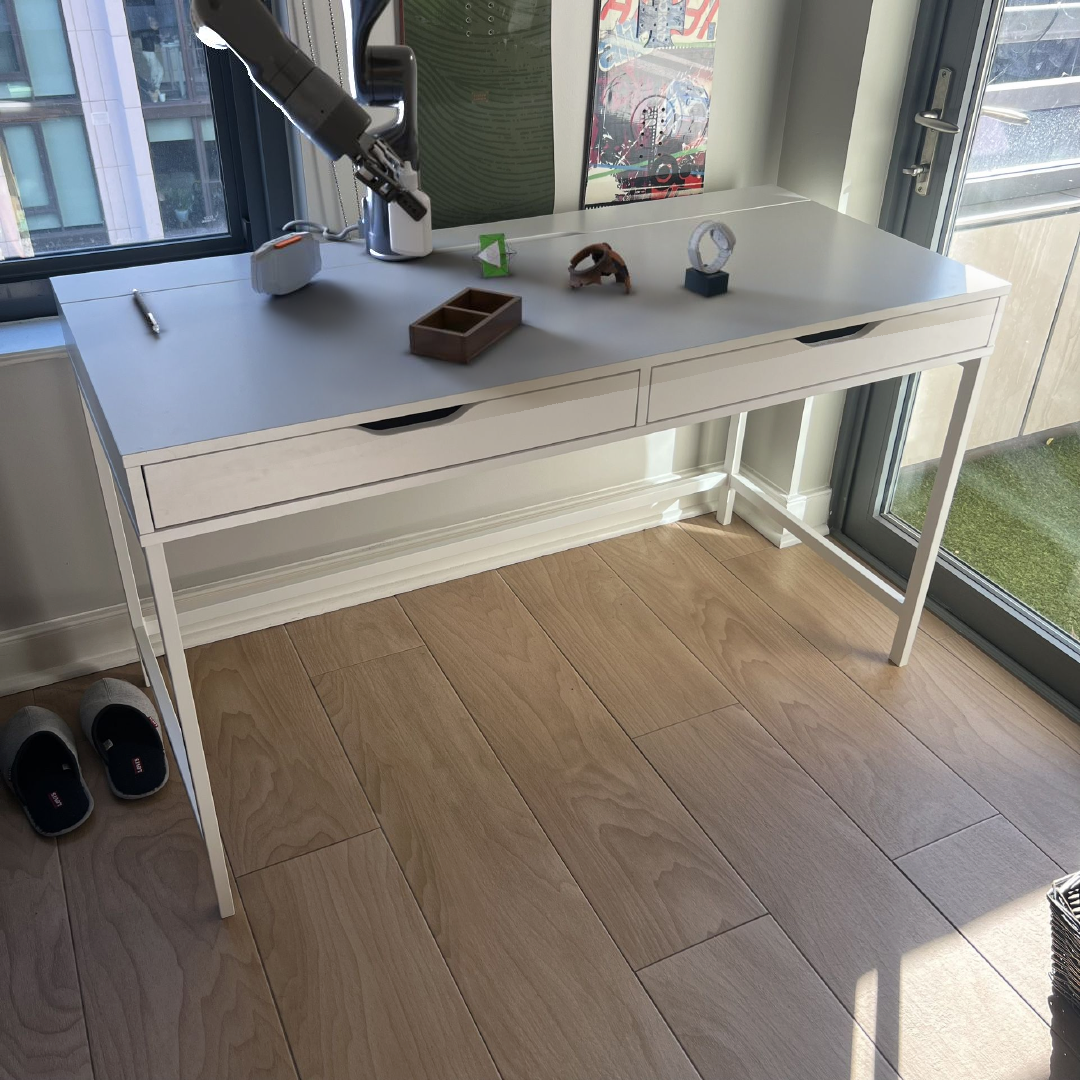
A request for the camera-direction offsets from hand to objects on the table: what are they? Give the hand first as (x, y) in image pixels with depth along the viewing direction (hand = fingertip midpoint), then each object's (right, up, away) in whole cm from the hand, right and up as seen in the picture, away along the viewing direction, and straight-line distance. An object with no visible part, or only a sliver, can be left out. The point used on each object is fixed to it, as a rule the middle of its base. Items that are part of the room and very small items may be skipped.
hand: (424, 211), depth 142 cm
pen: (-44, -10, +18) cm, 49 cm away
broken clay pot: (+25, -3, +30) cm, 40 cm away
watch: (+42, -4, +30) cm, 52 cm away
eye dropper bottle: (-2, -5, +3) cm, 6 cm away
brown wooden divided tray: (+5, -15, +12) cm, 20 cm away
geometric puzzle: (+8, 0, +35) cm, 36 cm away
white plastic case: (-25, -4, +28) cm, 38 cm away
